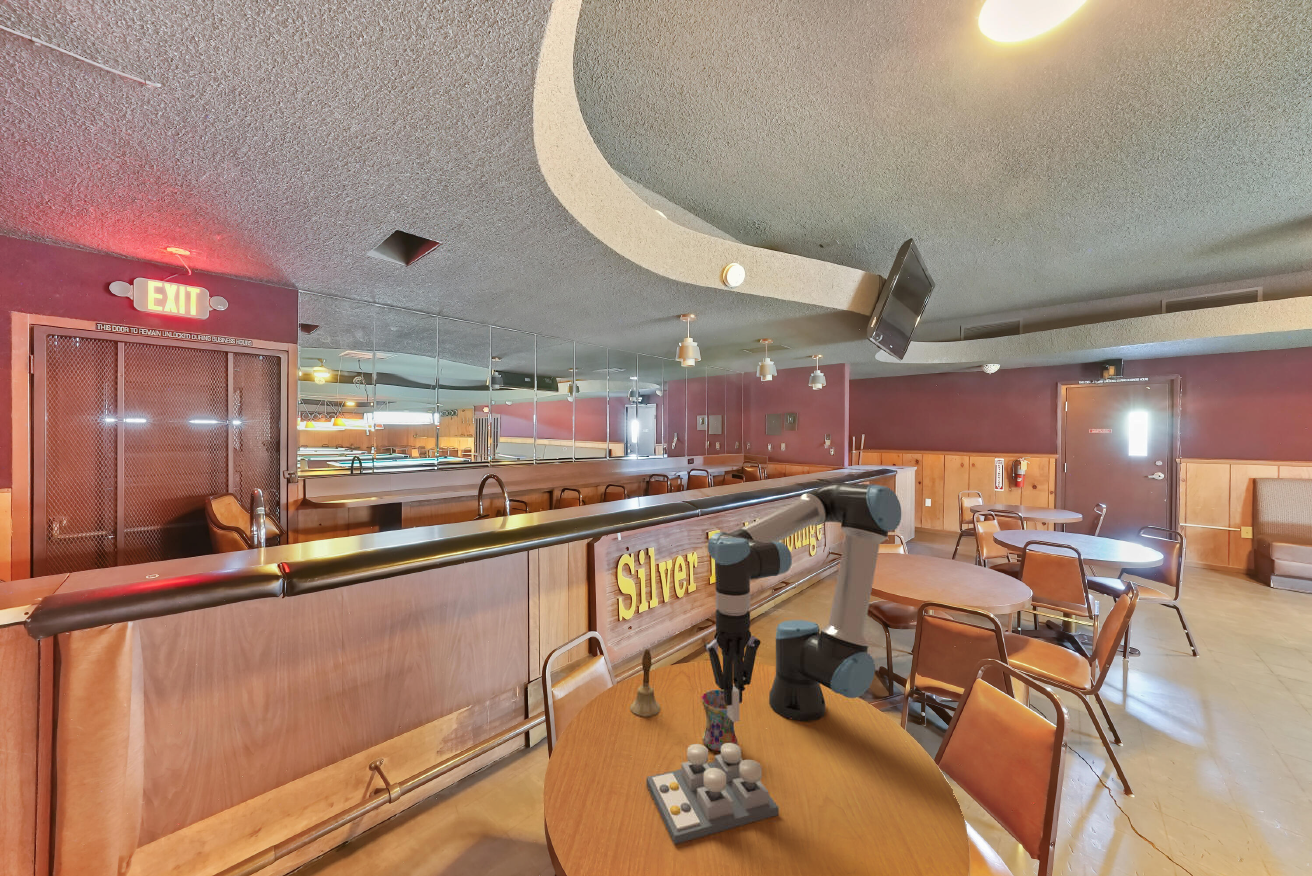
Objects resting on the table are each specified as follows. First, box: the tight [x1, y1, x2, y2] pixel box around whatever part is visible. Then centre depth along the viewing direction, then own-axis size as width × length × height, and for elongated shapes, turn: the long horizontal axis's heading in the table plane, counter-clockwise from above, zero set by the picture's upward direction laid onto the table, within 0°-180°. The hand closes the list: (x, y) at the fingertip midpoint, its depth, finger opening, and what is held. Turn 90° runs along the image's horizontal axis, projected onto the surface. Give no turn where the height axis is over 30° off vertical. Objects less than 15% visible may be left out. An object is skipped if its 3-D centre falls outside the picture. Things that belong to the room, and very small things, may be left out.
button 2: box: [739, 759, 763, 790], centre depth 94 cm, size 4×4×4 cm
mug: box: [700, 689, 741, 752], centre depth 115 cm, size 12×9×11 cm
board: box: [646, 753, 780, 845], centre depth 95 cm, size 22×16×4 cm
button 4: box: [704, 768, 726, 800], centre depth 91 cm, size 4×4×4 cm
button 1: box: [720, 743, 742, 766], centre depth 101 cm, size 4×4×4 cm
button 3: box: [686, 743, 709, 773], centre depth 99 cm, size 4×4×4 cm
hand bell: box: [629, 648, 661, 718], centre depth 128 cm, size 8×8×16 cm
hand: (733, 717), depth 102 cm, fingers closed
